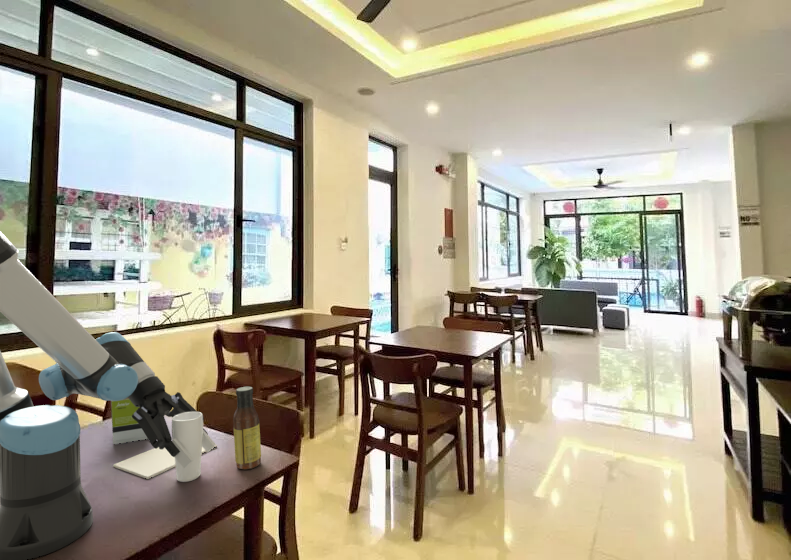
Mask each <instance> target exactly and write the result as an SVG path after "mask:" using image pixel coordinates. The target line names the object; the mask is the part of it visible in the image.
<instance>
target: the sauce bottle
mask: <svg viewBox="0 0 791 560" xmlns="http://www.w3.org/2000/svg"><path fill="white" fill-rule="evenodd" d="M253 393H254V388H253V387H252V386H243V387H242V386H241V387H238V388H236V390H235V395H236V401H237V404H236V407H237V408H236V409H235V411H234V414H233V419H232V420H233V440H234V458H235V459H234V461H235V465H236V467H237V469H239V470H245V471H247V470H251V469H255V468H257V467H258V466H260V464H261V462H262V460H261V457H262V450H261V449H262V448H261V433H260V432H261V430H260V418H259V415H258V414H259V413H258V412H257V411H256V408H255V406H254V399H253V398H254V397H253Z"/></svg>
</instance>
